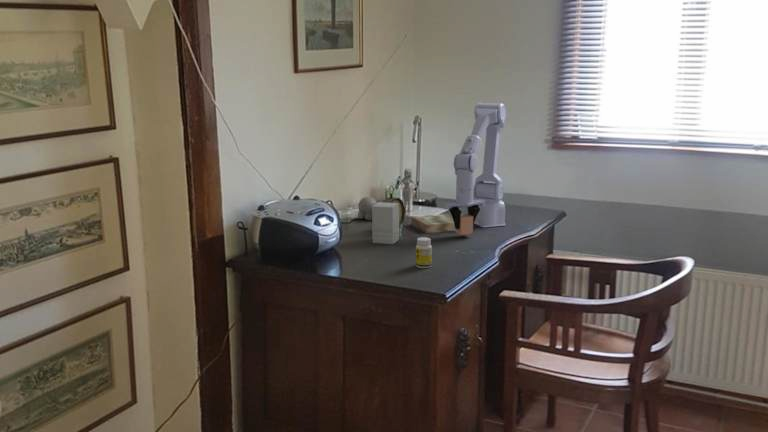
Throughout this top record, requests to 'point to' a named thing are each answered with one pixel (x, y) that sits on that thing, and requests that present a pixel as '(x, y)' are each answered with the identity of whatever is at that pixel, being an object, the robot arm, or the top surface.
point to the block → (465, 224)
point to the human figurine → (407, 189)
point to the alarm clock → (401, 206)
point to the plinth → (433, 223)
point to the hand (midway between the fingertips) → (464, 228)
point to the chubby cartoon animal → (366, 208)
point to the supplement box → (385, 222)
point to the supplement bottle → (423, 253)
